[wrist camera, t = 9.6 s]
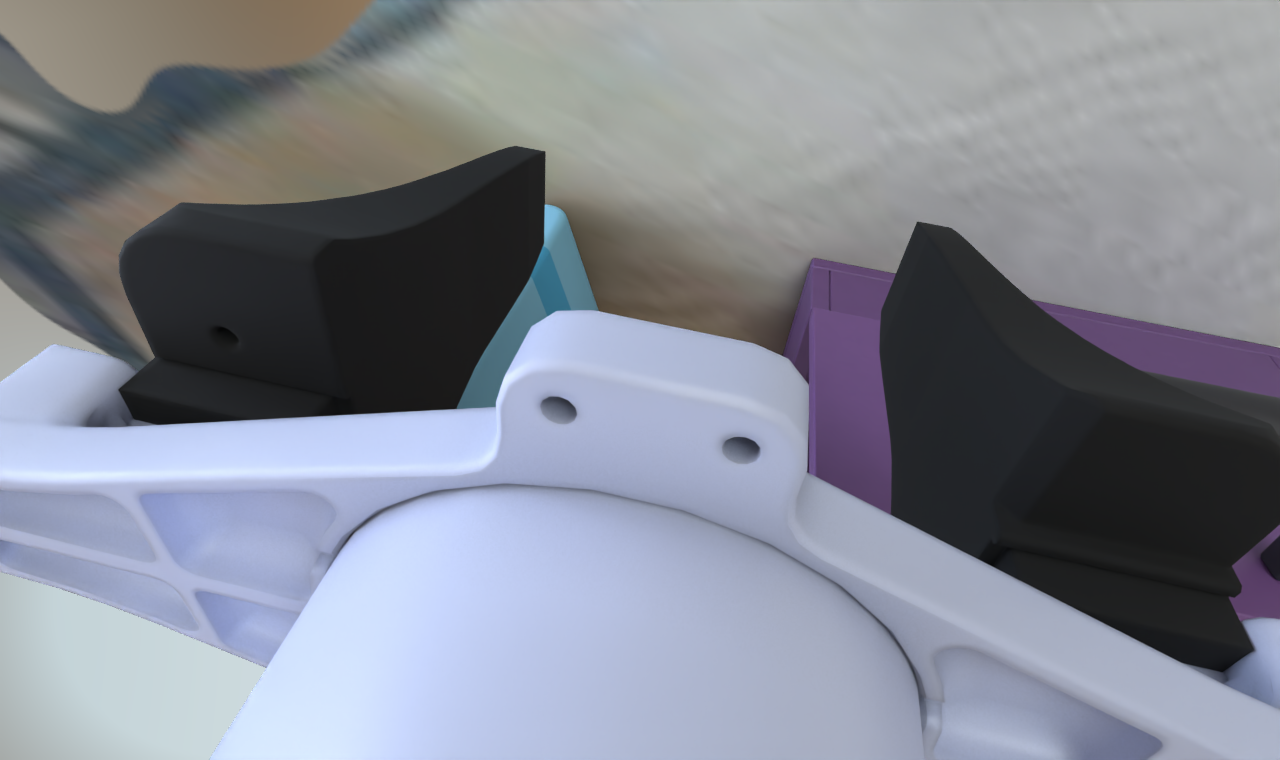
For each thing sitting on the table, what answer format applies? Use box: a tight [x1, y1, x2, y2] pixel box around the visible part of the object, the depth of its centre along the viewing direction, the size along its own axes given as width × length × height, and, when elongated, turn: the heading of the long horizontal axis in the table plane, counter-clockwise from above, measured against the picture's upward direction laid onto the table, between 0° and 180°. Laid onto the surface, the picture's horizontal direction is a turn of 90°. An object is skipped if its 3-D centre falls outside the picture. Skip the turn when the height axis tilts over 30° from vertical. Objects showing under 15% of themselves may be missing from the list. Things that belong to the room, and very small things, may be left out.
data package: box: [457, 204, 599, 409], centre depth 23 cm, size 12×4×12 cm, turn 104°
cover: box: [809, 308, 1280, 622], centre depth 16 cm, size 9×15×4 cm
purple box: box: [783, 258, 1280, 473], centre depth 25 cm, size 8×15×3 cm, turn 84°
